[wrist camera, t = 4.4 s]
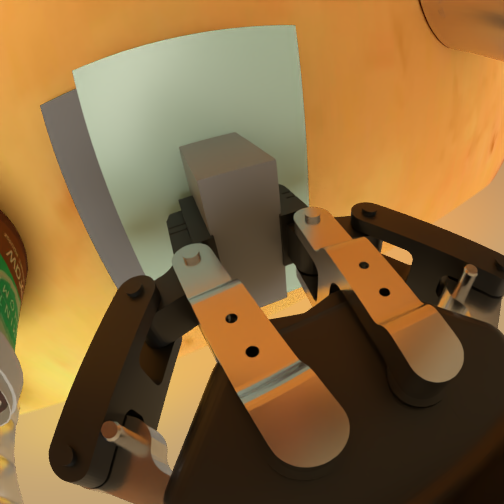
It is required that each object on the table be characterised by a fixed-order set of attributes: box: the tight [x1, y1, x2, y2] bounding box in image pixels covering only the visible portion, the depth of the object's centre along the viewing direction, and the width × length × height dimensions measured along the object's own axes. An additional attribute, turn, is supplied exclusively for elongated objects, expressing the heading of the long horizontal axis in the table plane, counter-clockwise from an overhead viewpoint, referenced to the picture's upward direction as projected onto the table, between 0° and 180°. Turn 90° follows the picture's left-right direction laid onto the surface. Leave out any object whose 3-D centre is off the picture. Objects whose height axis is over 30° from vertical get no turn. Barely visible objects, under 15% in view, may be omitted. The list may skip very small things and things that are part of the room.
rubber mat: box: [40, 89, 145, 289], centre depth 16 cm, size 14×14×1 cm
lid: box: [72, 25, 309, 307], centre depth 12 cm, size 9×15×5 cm, turn 8°
